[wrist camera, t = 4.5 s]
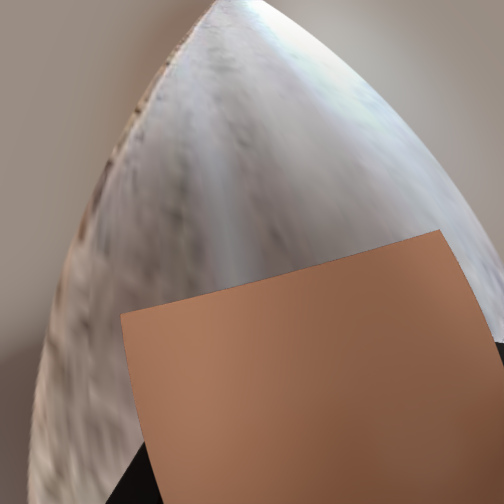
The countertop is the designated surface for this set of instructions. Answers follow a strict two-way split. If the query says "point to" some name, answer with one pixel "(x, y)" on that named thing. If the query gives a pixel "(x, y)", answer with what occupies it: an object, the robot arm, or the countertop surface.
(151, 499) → the robot arm
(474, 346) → the tan rectangular block
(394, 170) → the countertop surface
